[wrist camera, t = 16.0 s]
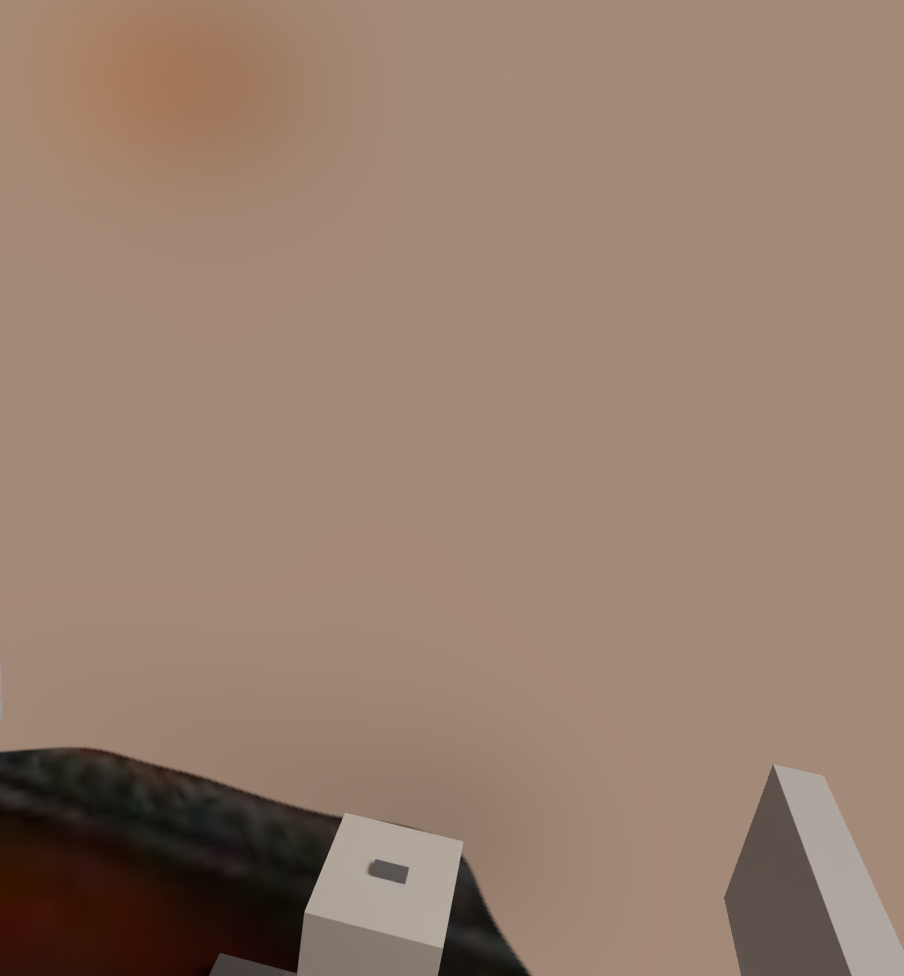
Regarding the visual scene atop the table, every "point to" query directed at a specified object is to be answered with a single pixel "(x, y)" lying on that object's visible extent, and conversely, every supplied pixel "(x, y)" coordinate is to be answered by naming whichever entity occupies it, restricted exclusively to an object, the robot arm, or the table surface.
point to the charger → (380, 902)
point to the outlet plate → (244, 968)
